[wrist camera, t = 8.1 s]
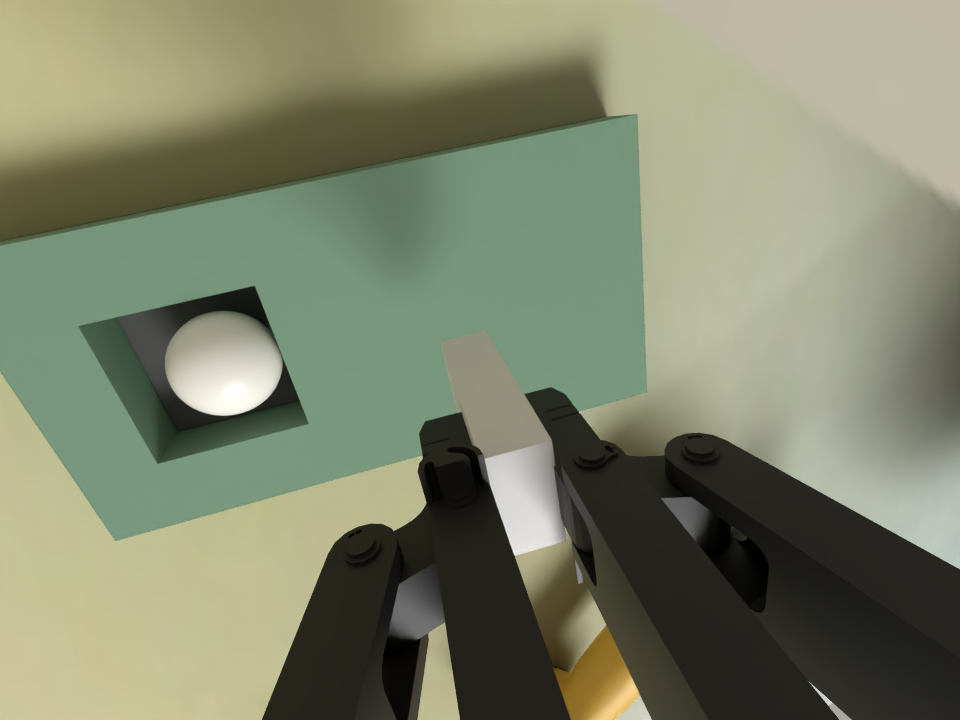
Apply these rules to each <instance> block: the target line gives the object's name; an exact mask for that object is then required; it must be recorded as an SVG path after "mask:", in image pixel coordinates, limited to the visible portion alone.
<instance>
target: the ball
mask: <svg viewBox="0 0 960 720" xmlns="http://www.w3.org/2000/svg"><path fill="white" fill-rule="evenodd" d="M282 366H283V362H282V354H281V351H280V349H279V346H278V344H277V341H276V339H275V337H274V335H273V334H272V332H271V331H270V330H269V329H268V328H267V327H266V326H265V325H263V324H262V323H261V322H259V321H258V320H256V319H255V318H253V317H251V316H248V315H246V314H243V313H239V312H234V311H214V312H209V313H205V314H202V315H199V316H197V317H195V318H193V319H191V320H189V321H188V322H187V323H185V324H184V325H183V326H182V327H181V328H180V329H179V330H178V331H177V332H176V333H175V335H174V336H173V337H172V339H171V341H170V343H169V345H168V348H167V351H166V355H165V372H166V376H167V379H168V381H169V384H170V386H171V388H172V389H173V391H174V392H175V394H176V395H177V396H178V397H179V398H180V399H181V400H182V401H184V402H185V403H186V404H187V405H189V406H190V407H192V408H194V409H196V410H198V411H201V412H204V413H207V414H212V415H219V416H229V415H236V414H240V413H244V412H246V411H249V410H251V409H253V408H255V407H257V406H258V405H260V404H261V403H263V402H264V401H265V400H266V399H267V398H268V397H269V396H270V395H271V394H272V392H273V391H274V390H275V388H276V386H277V384H278V382H279V380H280V377H281V373H282Z"/></svg>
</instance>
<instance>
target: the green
mask: <svg viewBox="0 0 960 720" xmlns="http://www.w3.org/2000/svg"><path fill="white" fill-rule="evenodd" d="M214 311H234V312H239V313H243V314H246V315H248V316H251V317H253V318H255V319H256V320H258V321H259V322H261V323H262V324H263V325H265V326H266V327H267V328H268V329H269V330H270V331H271V332H272V334H273V335H274V337H275V339H276V341H277V344H278V346H279V349H280V351H281V354H282V362H283V366H282V373H281V377H280V380H279V382H278V384H277V386H276V388H275V390H274V391H273V392H272V394H271V395H270V396H269V397H268V398H267V399H266V400H265V401H264V402H263V403H261V404H260V405H258V406H257V407H255V408H253V409H251V410H249V411H246V412H244V413H240V414H236V415H229V416H219V415H212V414H207V413H204V412H201V411H198V410H196V409H194V408H192V407H190V406H189V405H187V404H186V403H185V402H184V401H182V400H181V399H180V398H179V397H178V396H177V395H176V394H175V392H174V391H173V389H172V388H171V386H170V384H169V381H168V379H167V376H166V372H165V355H166V351H167V348H168V345H169V343H170V341H171V339H172V337H173V336H174V335H175V333H176V332H177V331H178V330H179V329H180V328H181V327H182V326H183V325H184V324H185V323H187V322H188V321H189V320H191V319H193V318H195V317H197V316H199V315H202V314H205V313H209V312H214ZM485 330H486V332H487V333H488V335H489V337H490V338H491V340H492V342H493V343H494V345H495V347H496V348H497V350H498V352H499V353H500V355H501V357H502V358H503V360H504V362H505V363H506V365H507V367H508V368H509V370H510V372H511V373H512V375H513V377H514V378H515V380H516V382H517V383H518V385H519V387H520V388H521V390H522V391H523V393H524V394H526V393H530V392H534V391H538V390H542V389H546V388H549V387H552V388H554V389H556V390H558V391H560V392H562V393H564V394H566V396H567V397H568V398H569V400H570V401H571V402H572V404H573V406H575V407H576V409H577V410H578V411H582V410H585V409H589V408H592V407H596V406H600V405H603V404H607V403H610V402H614V401H617V400H621V399H625V398H628V397H632V396H635V395H639V394H642V393H646V392H647V382H646V353H645V324H644V294H643V265H642V236H641V207H640V177H639V148H638V119H637V114H635V115H623V116H610V117H604V118H599V119H594V120H589V121H584V122H579V123H574V124H570V125H565V126H560V127H555V128H550V129H545V130H540V131H536V132H531V133H526V134H521V135H516V136H511V137H506V138H501V139H497V140H492V141H487V142H482V143H477V144H472V145H467V146H463V147H458V148H453V149H448V150H443V151H438V152H433V153H429V154H424V155H419V156H414V157H409V158H404V159H399V160H395V161H390V162H385V163H380V164H375V165H370V166H365V167H360V168H356V169H351V170H346V171H341V172H336V173H331V174H326V175H322V176H317V177H312V178H307V179H302V180H297V181H292V182H288V183H283V184H278V185H273V186H268V187H263V188H258V189H253V190H249V191H244V192H239V193H234V194H229V195H224V196H219V197H215V198H210V199H205V200H200V201H195V202H190V203H185V204H181V205H176V206H171V207H166V208H161V209H156V210H151V211H146V212H142V213H137V214H132V215H127V216H122V217H117V218H112V219H108V220H103V221H98V222H93V223H88V224H83V225H78V226H74V227H69V228H64V229H59V230H54V231H49V232H44V233H39V234H35V235H30V236H25V237H20V238H15V239H10V240H5V241H1V242H0V372H1V374H2V375H3V377H4V378H5V379H6V381H7V382H8V384H9V385H10V387H11V388H12V390H13V391H14V393H15V394H16V396H17V397H18V399H19V400H20V402H21V403H22V404H23V406H24V407H25V409H26V410H27V412H28V413H29V415H30V416H31V418H32V419H33V421H34V422H35V424H36V425H37V426H38V428H39V429H40V431H41V432H42V434H43V435H44V437H45V438H46V440H47V441H48V443H49V444H50V446H51V447H52V449H53V450H54V451H55V453H56V454H57V456H58V457H59V459H60V460H61V462H62V463H63V465H64V466H65V468H66V469H67V471H68V472H69V474H70V475H71V476H72V478H73V479H74V481H75V482H76V484H77V485H78V487H79V488H80V490H81V491H82V493H83V494H84V496H85V497H86V498H87V500H88V501H89V503H90V504H91V506H92V507H93V509H94V510H95V512H96V513H97V515H98V516H99V518H100V519H101V521H102V522H103V523H104V525H105V526H106V528H107V529H108V531H109V532H110V534H111V535H112V537H113V538H114V540H115V541H117V540H121V539H125V538H128V537H132V536H135V535H139V534H142V533H146V532H150V531H153V530H157V529H160V528H164V527H167V526H171V525H175V524H178V523H182V522H185V521H189V520H192V519H196V518H200V517H203V516H207V515H210V514H214V513H217V512H221V511H225V510H228V509H232V508H235V507H239V506H242V505H246V504H250V503H253V502H257V501H260V500H264V499H267V498H271V497H275V496H278V495H282V494H285V493H289V492H292V491H296V490H300V489H303V488H307V487H310V486H314V485H317V484H321V483H325V482H328V481H332V480H335V479H339V478H342V477H346V476H350V475H353V474H357V473H360V472H364V471H367V470H371V469H375V468H378V467H382V466H385V465H389V464H392V463H396V462H400V461H403V460H407V459H410V458H414V457H417V456H421V455H422V450H421V443H420V437H419V432H420V430H421V428H422V426H423V424H424V422H425V421H428V420H432V419H436V418H439V417H443V416H447V415H451V414H455V413H457V411H456V407H455V403H454V399H453V394H452V390H451V386H450V382H449V377H448V373H447V369H446V365H445V360H444V356H443V352H442V348H441V343H440V341H444V340H448V339H452V338H457V337H461V336H465V335H469V334H473V333H477V332H481V331H485ZM295 400H296V401H295ZM276 405H277V406H276ZM272 406H273V407H272ZM268 407H269V408H268ZM264 408H265V409H264ZM245 413H246V414H245ZM241 414H242V415H241ZM237 415H238V416H237ZM214 421H215V422H214ZM210 422H211V423H210ZM206 423H207V424H206ZM187 428H188V429H187ZM183 429H184V430H183ZM179 430H180V431H179Z"/></svg>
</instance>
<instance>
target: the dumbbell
mask: <svg viewBox="0 0 960 720" xmlns="http://www.w3.org/2000/svg"><path fill="white" fill-rule="evenodd" d="M553 669H554V672H555V675H556V678H557V681H558V683H559V686H560V689H561V692H562V695H563V698H564V701H565V704H566V707H567V710H568V712H569V715H570V718H571V720H615V719H616V718H617V717H619V716H620V715H621V714H622V713H623V712H624V711H625V710H626V709H627V708H628V707H629V706H630V705H631V704H632V703H633V702H634V701H635V700H636V699H637V698H638V697H639V696H640V694H639V691H638V689H637V687H636V685H635V683H634V681H633V679H632V677H631V675H630V673H629V671H628V669H627V666H626V664H625V662H624V660H623V658H622V656H621V654H620V652H619V650H618V648H617V646H616V644H615V642H614V639H613V637H612V635H611V633H610V631H609V629H608V627H607V625H606V626H605V628H604V629H603V630H602V631H601V632H600V633H599V635H598V636H597V637H596V638H595V640H594V641H593V642H592V643H591V645H590V646H589V647H588V649H587V650H586V651H585V653H584V654H583V655H582V656H581V658H580V659H579V660H578V662H577V663H576V665H575V667H574V668H573V670H572V672H571V673H569V672H566V671H564V670H561V669H558V668H554V667H553Z"/></svg>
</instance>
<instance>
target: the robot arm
mask: <svg viewBox="0 0 960 720" xmlns="http://www.w3.org/2000/svg"><path fill="white" fill-rule="evenodd" d="M440 343H441V348H442V352H443V356H444V360H445V365H446V369H447V373H448V377H449V382H450V386H451V390H452V394H453V399H454V403H455V407H456V411H457V413H455V414H451V415H447V416H443V417H439V418H436V419H432V420H428V421H425V422H424V424H423V426H422V428H421V430H420V432H419V437H420V443H421V450H422V455H423V460H422V461H421V462H420V463H419V468H418V475H419V478H420V481H421V485H422V488H423V492H424V495H425V499H426V502H427V503H426V506H425V507H424V509H423V510H422V512H421V513H420V514H419V515H418V516H417V517H416V518H415V519H414V520H412V521H411V522H409V523H408V524H406V525H404V526H403V527H401V528H399V529H397V530H395V531H393V530H392V528H390V527H387V526H385V525H383V524H367V525H363V526H359V527H357V528H355V529H353V530H351V531H349V532H347V533H345V534H344V535H343V536H342V537H341V538H340V539H339V540H337V541H336V542H335V544H334V545H333V547H332V548H331V550H330V552H329V553H328V556H327V558H326V561H325V563H324V566H323V568H322V571H321V573H320V576H319V578H318V581H317V583H316V586H315V588H314V591H313V593H312V596H311V598H310V601H309V603H308V606H307V608H306V611H305V613H304V616H303V618H302V621H301V623H300V626H299V628H298V631H297V633H296V636H295V638H294V641H293V643H292V646H291V648H290V651H289V653H288V656H287V658H286V661H285V663H284V666H283V668H282V671H281V673H280V676H279V678H278V681H277V683H276V686H275V688H274V691H273V693H272V696H271V698H270V701H269V703H268V706H267V708H266V711H265V713H264V716H263V718H262V720H417V718H418V711H419V704H420V696H421V689H422V682H423V675H424V668H425V661H426V654H427V647H428V640H429V639H428V633H429V632H430V631H432V630H433V629H435V628H436V627H438V626H440V625H441V624H443V623H444V622H445V624H446V630H447V637H448V643H449V650H450V656H451V663H452V670H453V676H454V683H455V689H456V696H457V702H458V709H459V715H460V720H571V718H570V715H569V712H568V710H567V707H566V704H565V701H564V698H563V695H562V692H561V689H560V686H559V683H558V681H557V678H556V675H555V672H554V669H553V666H552V663H551V660H550V657H549V655H548V652H547V649H546V646H545V643H544V640H543V637H542V634H541V631H540V628H539V626H538V623H537V620H536V617H535V614H534V611H533V608H532V605H531V602H530V600H529V597H528V594H527V591H526V588H525V585H524V582H523V579H522V576H521V574H520V571H519V568H518V565H517V562H516V559H515V556H516V555H519V554H522V553H526V552H529V551H533V550H536V549H539V548H543V547H546V546H550V545H553V544H556V543H560V542H563V541H566V535H565V528H564V525H565V527H566V529H567V531H568V533H569V535H570V537H571V540H572V547H573V554H574V562H575V569H576V576H577V581H578V584H580V583H583V578H582V575H583V577H584V579H585V581H586V583H587V585H588V587H589V589H590V592H591V594H592V596H593V598H594V600H595V602H596V604H597V606H598V608H599V610H600V612H601V614H602V617H603V619H604V621H605V623H606V625H607V627H608V629H609V631H610V633H611V635H612V637H613V639H614V642H615V644H616V646H617V648H618V650H619V652H620V654H621V656H622V658H623V660H624V662H625V664H626V666H627V669H628V671H629V673H630V675H631V677H632V679H633V681H634V683H635V685H636V687H637V689H638V691H639V694H640V696H641V698H642V700H643V702H644V704H645V706H646V708H647V710H648V712H649V714H650V716H651V719H652V720H839V719H838V718H837V716H836V715H835V714H834V713H833V711H832V710H831V709H830V708H829V706H828V705H827V704H826V703H825V701H824V700H823V699H822V698H821V696H820V695H819V694H818V693H817V691H816V690H815V689H814V688H813V687H812V685H814V686H815V687H816V688H817V689H818V690H819V691H820V692H821V693H823V694H824V695H825V696H826V697H827V698H828V699H829V700H830V701H832V702H833V703H834V704H835V705H836V706H837V707H838V708H839V709H841V710H842V711H843V712H844V713H845V714H846V715H847V716H848V717H849V718H851V719H852V720H960V569H958V568H956V567H954V566H953V565H951V564H949V563H947V562H945V561H944V560H942V559H940V558H938V557H936V556H934V555H933V554H931V553H929V552H927V551H925V550H924V549H922V548H920V547H918V546H916V545H915V544H913V543H911V542H909V541H907V540H905V539H904V538H902V537H900V536H898V535H896V534H895V533H893V532H891V531H889V530H887V529H886V528H884V527H882V526H880V525H878V524H876V523H875V522H873V521H871V520H869V519H867V518H866V517H864V516H862V515H860V514H858V513H857V512H855V511H853V510H851V509H849V508H847V507H846V506H844V505H842V504H840V503H838V502H837V501H835V500H833V499H831V498H829V497H828V496H826V495H824V494H822V493H820V492H819V491H817V490H815V489H813V488H811V487H809V486H808V485H806V484H804V483H802V482H800V481H799V480H797V479H795V478H793V477H791V476H790V475H788V474H786V473H784V472H782V471H780V470H779V469H777V468H775V467H773V466H771V465H770V464H768V463H766V462H764V461H762V460H761V459H759V458H757V457H755V456H753V455H751V454H750V453H748V452H746V451H744V450H742V449H741V448H739V447H737V446H735V445H733V444H732V443H730V442H728V441H726V440H724V439H722V438H719V437H716V436H714V435H709V434H703V433H690V434H684V435H681V436H677V437H675V438H673V439H672V440H671V441H669V442H668V443H667V446H666V448H665V456H647V457H635V456H627V455H626V454H625V453H624V452H623V451H622V450H621V449H620V448H619V447H618V446H616V445H615V444H613V443H610V442H607V441H604V440H600V439H599V438H598V436H597V435H596V434H595V432H594V431H593V430H592V428H591V427H590V426H589V424H588V423H587V422H586V421H585V419H584V418H583V417H582V415H581V414H579V411H578V410H577V409H576V407H575V406H573V404H572V402H571V401H570V400H569V398H568V397H567V396H566V394H564V393H562V392H560V391H558V390H556V389H554V388H552V387H549V388H546V389H542V390H538V391H534V392H530V393H526V394H524V393H523V391H522V390H521V388H520V387H519V385H518V383H517V382H516V380H515V378H514V377H513V375H512V373H511V372H510V370H509V368H508V367H507V365H506V363H505V362H504V360H503V358H502V357H501V355H500V353H499V352H498V350H497V348H496V347H495V345H494V343H493V342H492V340H491V338H490V337H489V335H488V333H487V332H486V330H485V331H481V332H477V333H473V334H469V335H465V336H461V337H457V338H452V339H448V340H444V341H440ZM734 528H735V529H734ZM737 530H738V531H737ZM740 532H741V533H740ZM808 681H809V682H810V683H811V684H812V685H811V684H810V683H809V682H808Z"/></svg>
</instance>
